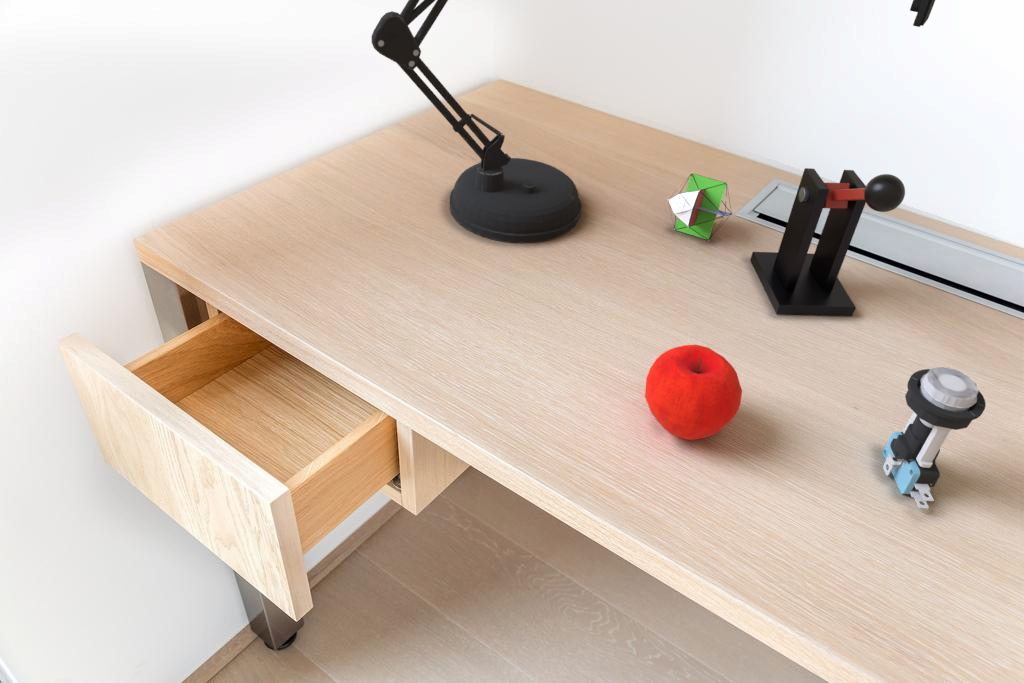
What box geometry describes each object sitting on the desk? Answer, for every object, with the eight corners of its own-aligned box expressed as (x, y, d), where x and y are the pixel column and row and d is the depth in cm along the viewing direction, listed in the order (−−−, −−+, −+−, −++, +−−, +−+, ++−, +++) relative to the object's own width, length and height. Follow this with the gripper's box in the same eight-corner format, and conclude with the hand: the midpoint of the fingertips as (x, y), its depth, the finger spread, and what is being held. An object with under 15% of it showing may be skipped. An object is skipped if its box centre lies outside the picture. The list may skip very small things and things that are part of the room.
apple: (628, 392, 70) (642, 326, 66) (715, 391, 71) (734, 326, 67) (646, 459, 64) (663, 392, 60) (741, 458, 65) (765, 391, 60)
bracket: (852, 316, 82) (898, 206, 74) (776, 314, 81) (813, 203, 73) (819, 262, 89) (857, 157, 81) (749, 260, 89) (781, 154, 81)
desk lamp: (648, 185, 101) (731, -255, 73) (586, 290, 82) (667, -251, 54) (473, 144, 107) (487, -277, 79) (378, 233, 88) (352, -280, 60)
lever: (910, 212, 67) (914, 173, 67) (873, 211, 67) (877, 172, 66) (838, 212, 80) (841, 180, 79) (807, 211, 80) (810, 179, 79)
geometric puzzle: (684, 188, 97) (681, 154, 89) (739, 204, 94) (741, 170, 87) (662, 239, 95) (657, 209, 88) (717, 257, 93) (717, 227, 86)
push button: (954, 515, 62) (1013, 423, 55) (886, 510, 62) (937, 418, 55) (922, 452, 67) (972, 361, 61) (859, 448, 67) (903, 357, 60)
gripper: (1247, -215, 52) (1106, 50, 62) (965, -242, 58) (881, 3, 69) (1261, -211, 47) (1105, 77, 57) (950, -241, 53) (862, 23, 64)
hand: (983, 36), depth 63 cm, fingers open, 9 cm apart
